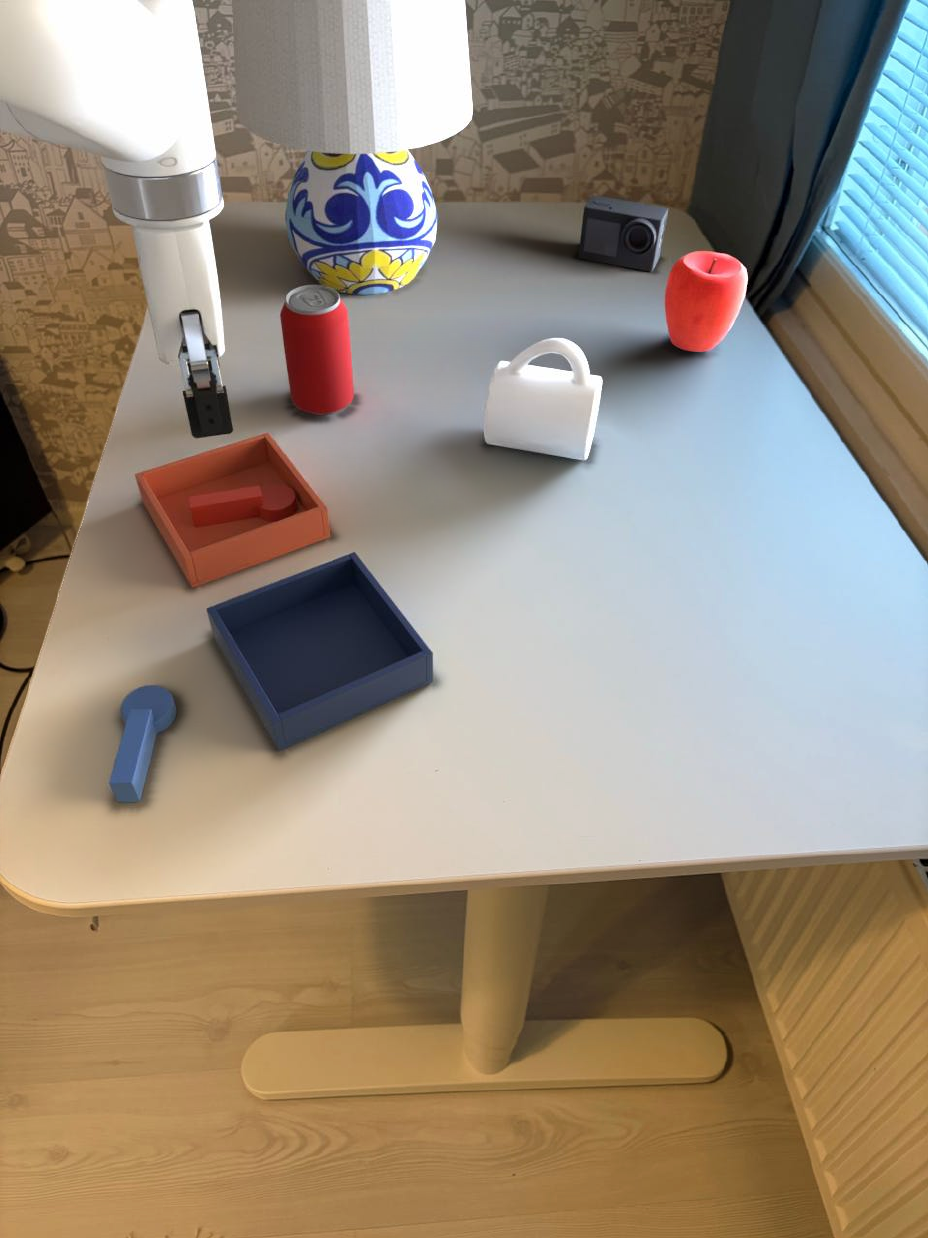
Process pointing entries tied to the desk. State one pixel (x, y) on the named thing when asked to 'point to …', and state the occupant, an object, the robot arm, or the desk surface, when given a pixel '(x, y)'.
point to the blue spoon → (140, 738)
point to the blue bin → (319, 648)
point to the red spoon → (243, 505)
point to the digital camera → (622, 232)
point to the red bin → (235, 541)
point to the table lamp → (355, 123)
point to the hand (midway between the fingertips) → (206, 400)
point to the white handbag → (543, 403)
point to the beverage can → (317, 349)
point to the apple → (703, 299)
